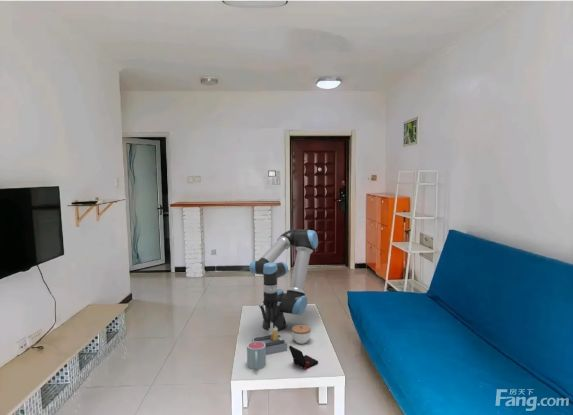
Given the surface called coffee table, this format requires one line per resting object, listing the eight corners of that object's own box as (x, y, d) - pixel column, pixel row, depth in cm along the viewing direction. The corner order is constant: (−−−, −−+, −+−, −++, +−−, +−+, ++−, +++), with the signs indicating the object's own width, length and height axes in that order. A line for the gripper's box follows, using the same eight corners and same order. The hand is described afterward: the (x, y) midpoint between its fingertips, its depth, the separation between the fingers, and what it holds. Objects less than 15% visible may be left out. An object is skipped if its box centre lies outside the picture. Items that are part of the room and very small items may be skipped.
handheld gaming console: (318, 364, 185) (318, 344, 185) (301, 372, 178) (301, 352, 177) (305, 357, 193) (305, 338, 192) (288, 365, 185) (288, 345, 184)
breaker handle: (275, 337, 206) (275, 325, 206) (279, 340, 202) (278, 328, 201) (269, 338, 205) (269, 326, 205) (272, 342, 200) (272, 329, 200)
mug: (247, 360, 189) (247, 341, 189) (265, 359, 190) (265, 341, 189) (246, 374, 176) (246, 354, 175) (266, 373, 176) (265, 353, 176)
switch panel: (278, 341, 211) (278, 333, 211) (286, 350, 200) (286, 341, 200) (252, 346, 205) (251, 338, 205) (259, 356, 194) (258, 347, 194)
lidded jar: (314, 340, 213) (314, 324, 212) (304, 347, 204) (304, 330, 203) (298, 336, 219) (298, 320, 218) (288, 342, 210) (288, 326, 209)
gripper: (261, 295, 195) (262, 338, 197) (284, 291, 200) (284, 334, 202) (256, 291, 202) (257, 333, 203) (279, 288, 207) (279, 329, 208)
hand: (270, 333), depth 203 cm, fingers closed
